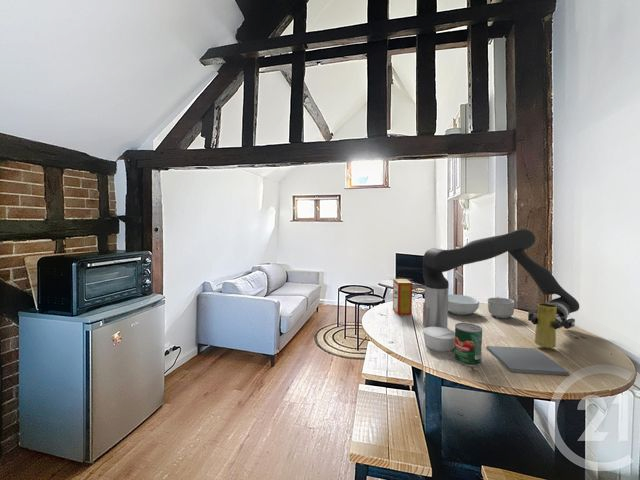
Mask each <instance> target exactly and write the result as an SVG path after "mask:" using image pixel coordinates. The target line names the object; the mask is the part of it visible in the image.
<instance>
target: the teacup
mask: <svg viewBox="0 0 640 480" xmlns="http://www.w3.org/2000/svg"><path fill="white" fill-rule="evenodd" d="M487 309H488V312H489V314H491V315H492V317H494V316H495V317H494V318H498V319H499V318H500V319H509V318H510V317H512V316H513V315H514V314H515V301H514V300H513V299H510V298H506V297H500V296H496V297H489V298H487Z"/></svg>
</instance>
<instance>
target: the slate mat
mask: <svg viewBox="0 0 640 480" xmlns="http://www.w3.org/2000/svg"><path fill="white" fill-rule="evenodd" d="M486 350H487V351H488V352H489V353H490V354H491V355H493V357H494V358H495V359H496V360H497V361H499V362H500V363H501V364H502V365H503V366H504V368H506V369H507V370H508V371H509V372H510V373H511V372H512V373H525V374H542V375H543V374H546V375H560V376H561V375H563V376H569V375H570V372H569V371H568V370H567V369H565V367H563V366H561V365H560V364H558V363H557V362H556V361H555V360H553V359H552V358H550V357H548V356H547V355H546V354H545V353H543V352H542V351H540V350H539V349H537V348H535V347H519V346H518V347H515V346H514V347H513V346H499V345H498V346H497V345H496V346H495V345H486Z"/></svg>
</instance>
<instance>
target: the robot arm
mask: <svg viewBox="0 0 640 480" xmlns="http://www.w3.org/2000/svg"><path fill="white" fill-rule="evenodd" d="M535 242H536V235H535V234H534V233H533V232H532V230H530V229H526V228H518V229H516V230H513V231H511V232H508V233H505V234H500V235H494V236H490V237H489V236H488V237H483V238H478V239H475V240H471V241H469V242H467V243H466V244H465V245H463V246H462V247H459V248H454V249H442V248H433V247H432V248H429V249H427V250H426V251H425V252H424V255H423V258H422V275H423V276H422V277H423V280H424V301H423V303H422V307H423V308H422V324H423V326H424V328H427V327H441V328H446V329H448V323H449V322H448V319H449V317H448V316H449V311H448V295H449V286H450V284H449V280H448V279H447V278H446V277H445V275H444V274H443V273H444V272H445V273H446V272H449V271H451V270H453V269H456V268H459V267H462V266H464V265H469V264H474V263H478V262H482V261H487V260H490V259H493V258H496V257H498V256H500V255H501V256H502V255H503V254H505V253H506V252H508V253H509V254H510V255H511V256H512V258H513V259H514V260H515V261H516V262H517V263H518V264H519V265H520V266H521V267H522V268H523V269H524V270H525V271H526V272H527V273H528V275H529V276H530V278H531V279H532V280H533V281H534V283H535V284H536V285H537V287H538V289H539V290H540V292H541V293H542V294H543V295H545V296H550V295H558V296H559V297H555V298H553V299H550V300H548V301H547V302H546V303H548V304H552V305H555V306H557V312H556V322H555V323H554V329H556V330H558V329H561V328H562V327H563V328H564V329H566V330H568V329H572V328H574V327H575V325H576V324H575V323H576V322H575V321H576V319H575V318H573V317H572V318H568V317H569V315H570V314H572V313H575V312H578V311H579V310H580V303H579V301H578V300H577V299H576V298H575V297H573V295H572V294H570V293H569V292H568V291H566V290H565V289H564V288H563V287H562V286H561V285H560V283H559V282H558V281H557V280H556V278H555V276H554V275H553V273H551V272H550V270H548V269H547V268H546V267H545V266H544V265H541V264H540V263H538V262H536V261H535V260H534V259H532V258H531V257H530V256H529V255H528V254H527V253H526V251H525V250H527V249H529V248H531V247H533V245H534V244H535ZM527 313H528V317H527V320H528V321H529V322H531V324H532V325H535V326H536V322H537V312H534V311H533V310H530V309H529V310H528V312H527Z"/></svg>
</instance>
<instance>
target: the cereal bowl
mask: <svg viewBox="0 0 640 480" xmlns="http://www.w3.org/2000/svg"><path fill="white" fill-rule="evenodd" d="M479 307H480V300H479V299H477V298H475V297H472V296H468V295H463V294H454V293H453V294H448V312H450V313H451V314H453V315H458V316H465V315H466V316H467V315H469V314H473V313H475V312H477V310H478V309H479Z"/></svg>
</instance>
